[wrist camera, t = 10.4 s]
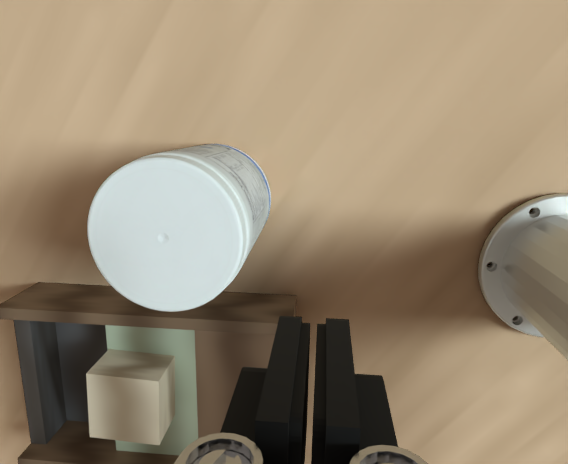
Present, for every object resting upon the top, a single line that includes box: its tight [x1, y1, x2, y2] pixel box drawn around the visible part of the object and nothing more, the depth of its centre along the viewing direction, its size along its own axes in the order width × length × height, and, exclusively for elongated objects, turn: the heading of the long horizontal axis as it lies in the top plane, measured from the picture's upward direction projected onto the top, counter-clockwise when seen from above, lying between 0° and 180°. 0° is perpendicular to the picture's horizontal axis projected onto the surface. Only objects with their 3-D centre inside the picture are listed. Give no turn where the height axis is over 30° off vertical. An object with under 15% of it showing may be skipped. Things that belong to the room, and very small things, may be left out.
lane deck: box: [0, 282, 296, 464], centre depth 42 cm, size 25×16×6 cm, turn 89°
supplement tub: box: [87, 144, 271, 312], centre depth 33 cm, size 10×10×15 cm
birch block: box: [86, 349, 175, 445], centre depth 39 cm, size 6×6×4 cm
